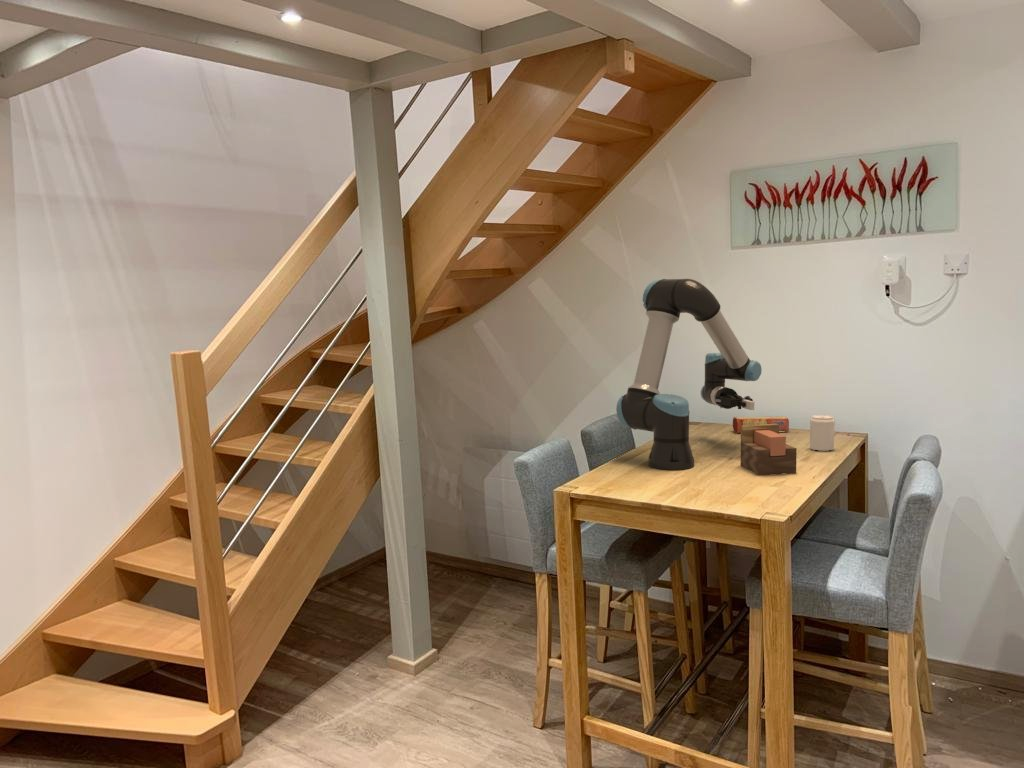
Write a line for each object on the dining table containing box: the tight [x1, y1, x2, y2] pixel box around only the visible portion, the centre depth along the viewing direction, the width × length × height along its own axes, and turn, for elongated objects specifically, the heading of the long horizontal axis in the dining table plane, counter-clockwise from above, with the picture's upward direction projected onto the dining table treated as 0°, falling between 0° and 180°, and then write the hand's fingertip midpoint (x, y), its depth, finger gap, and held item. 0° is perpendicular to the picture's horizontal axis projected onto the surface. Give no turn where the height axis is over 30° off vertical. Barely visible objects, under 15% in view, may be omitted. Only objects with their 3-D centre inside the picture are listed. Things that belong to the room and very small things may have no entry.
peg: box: [753, 429, 787, 456], centre depth 260 cm, size 14×5×6 cm, turn 8°
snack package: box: [732, 415, 790, 434], centre depth 323 cm, size 21×7×7 cm, turn 90°
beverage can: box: [809, 414, 836, 452], centre depth 287 cm, size 8×8×12 cm
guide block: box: [740, 424, 798, 476], centre depth 260 cm, size 14×12×14 cm
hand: (752, 405), depth 272 cm, fingers closed
